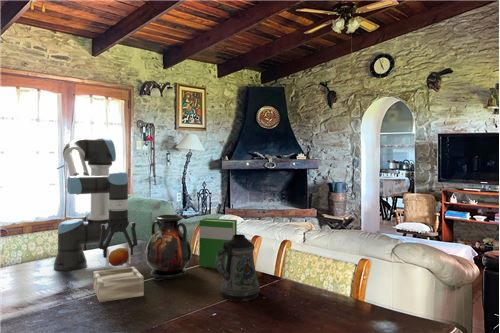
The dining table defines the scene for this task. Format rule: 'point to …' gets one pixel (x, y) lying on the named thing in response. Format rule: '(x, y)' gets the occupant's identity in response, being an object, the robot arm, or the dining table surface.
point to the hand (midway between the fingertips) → (118, 264)
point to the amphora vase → (168, 248)
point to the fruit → (118, 257)
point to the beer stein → (238, 270)
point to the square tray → (118, 284)
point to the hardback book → (214, 239)
